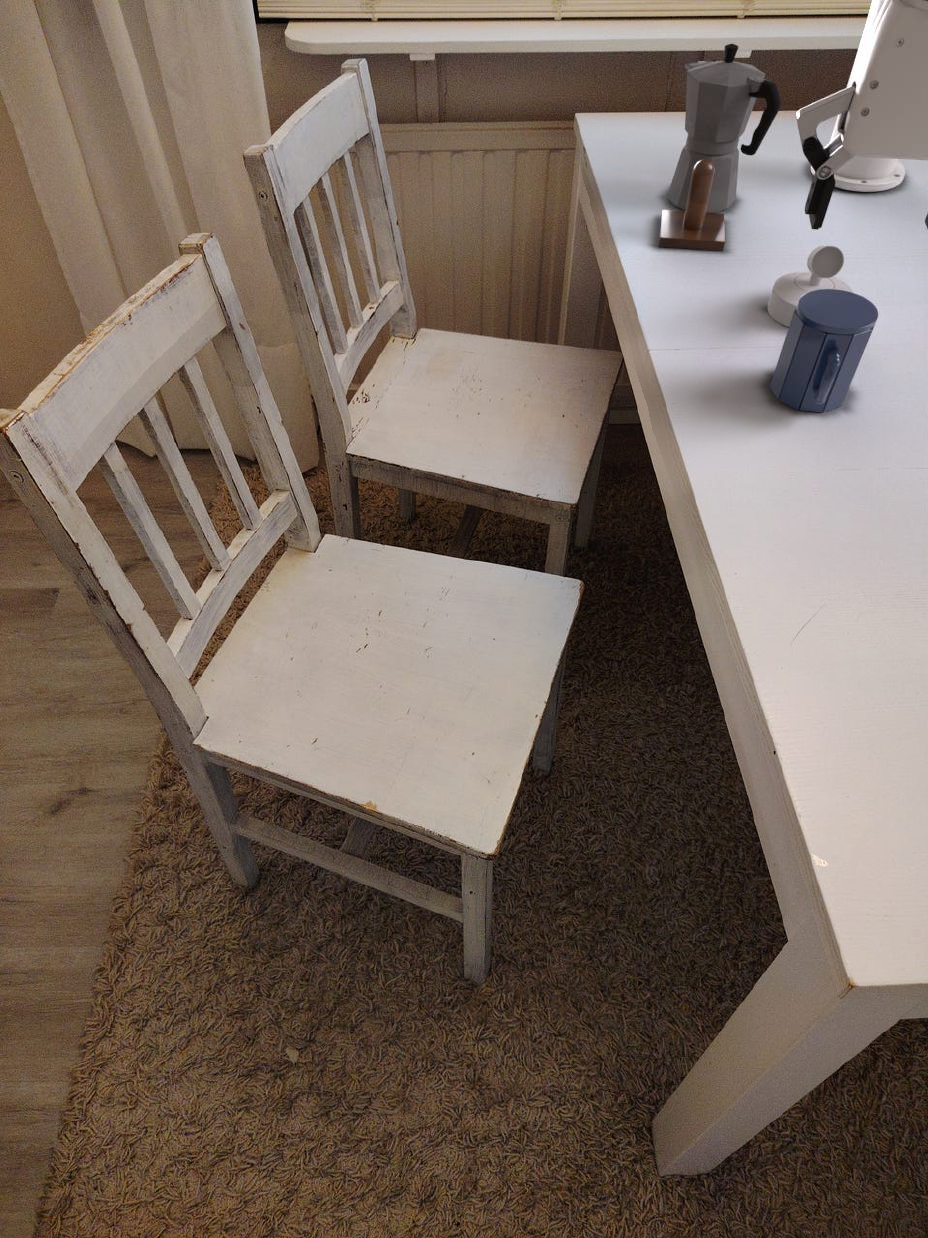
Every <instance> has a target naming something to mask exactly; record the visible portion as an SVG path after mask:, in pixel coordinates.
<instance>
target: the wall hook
mask: <svg viewBox="0 0 928 1238" xmlns="http://www.w3.org/2000/svg"><path fill="white" fill-rule="evenodd" d="M844 264H845V255H844V253H843V251H842V250H841V249H840V248H839V247H837V246H834V245H825V244H824V245H819V246H816V247H815V248H814V249H812V250H811V252H810V253H809V254H808V257H807V260H806V266H807V269H808V271H795V272H789V273H786V274H784V275H781V276H780V277H778V278H777V279H775V282H774V284H773V286H772V290H771V294H770V297H769V300H768V303H767V312H768V314H769V316H770V317H771V318H772V319H773V320H774V321H776V322H777V323H779V324H780V325H782V326H785V327H787V328H789V325H790V322H791V319H792V316H793V313H794V310H795V308H796V307H797V304H798V301H799V299H800V298H801V297H802V296H803V295H804V294H806V293H808V292H811V291H814V290H821V289H836V290H843V291H848V292H852V293H854V291H853V289H852V288H851V287H850V286H849V285H848V283H846V282H845V281H843V280H842V279H840V278H837V277H835V276H836V275H838V274H839V272H841V270H842V269H843V266H844Z"/></svg>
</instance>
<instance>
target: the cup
mask: <svg viewBox="0 0 928 1238" xmlns="http://www.w3.org/2000/svg"><path fill="white" fill-rule="evenodd" d="M878 318H879V310H878V308H877V307H876V305H875V304H874V303H872V301H870V300H869V299H867V298H866V297H864V296H862V295H860V294H858V293H855V292H853V293H852V292H848V291H843V290H836V289H821V290H814V291H811V292H808V293H806V294H804V295H803V296H802V297H801V298H800V299H799V301H798V304H797V307H796V308H795V310H794V313H793V316H792V319H791V322H790V325H789V327H787V328H788V329H787V332H786V335H785V338H784V341H783V344H782V347H781V350H780V353H779V357H778V360H777V362H776V366H775V369H774V372H773V375H772V377H771V381H770V384H769V389H770V390H771V391H772V393H773V395H774V396H775V399H777V401H779V402H781V403H783V404H785V405H787V406H789V407H790V408H793V409H795V410H796V411H798V410H799V411H801V412H812V413H813V412H814V413H826V412H829V411H831V410H835V409H838V408H840V407H841V406H843V404H844V402H845V398H846V396H847V394H848V392H849V389H850V386H851V384H852V381H853V379H854V376H855V375H856V372H857V370H858V367H859V365H860V363H861V360H862V357H863V355H864V352H865V350H866V348H867V346H868V343H869V341H870V338H871V335H872V334H873V331H874V329H875V326H876V324H877V321H878Z"/></svg>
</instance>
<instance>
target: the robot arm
mask: <svg viewBox="0 0 928 1238" xmlns="http://www.w3.org/2000/svg"><path fill="white" fill-rule="evenodd" d="M864 26H865V27H864V30H863V33H862V36H861V39H860V42H859V46H858V49H857V52H856V56H855V59H854V62H853V64H852V69H851V72H850V75H849V78H848V81H847V85H846V88H844V89H841V90H838V91H837V92H835V93H832V94H830V95H827V96H825V97H824V98H821V99H818V100H817V101H815V102H812V103H811V104H808V105H806V106H804V107H801V108H800V109H799V110H798V111H797V112H796V114H795V119H796V124H797V129H798V135H799V138H800V145H801V149H802V152H803V153H802V154H803V155H804V156H805V158H806V160H807V162H808V163H809V164H810V171H811V173H812V175H813V177H812V181H811V185H810V188H809V191H808V195H807V198H806V202H805V205H804V214H805V215H808V218H809V224H810V227H811V230H818V231H819V229H821V228H822V227H823V224H824V221H825V218H826V214H827V212H828V208H829V205H830V202H831V200H832V196H833V193H834V190H835V188H837V189H841V190H845V191H852V192H864V193H873V192H883V191H887V190H888V191H889V190H891V189H894V188H895V187H898V186H899V185H900V184H901V183H902V182H903V180H904V178H905V176H906V168H905V166H904V164H902V162H900V161H899V160H909V161H910V160H912V161H928V0H871V4H870V8H869V11H868V15H867V19H866V23H865V25H864ZM834 117H837V118H836V121H835V124H834V127H833V131H832V134H831V137H830V140H829V143H828V144H826V146H823V144H822V143H821V141H820V139H819V138H818V133H817V128H818V126H819V125H820V124H821V123H823V122H825V121H827V120H829V119H833V118H834ZM924 224H925V226H926V228H927V229H926V230H928V212H927V214H926V216H925V218H924Z"/></svg>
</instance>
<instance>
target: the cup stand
mask: <svg viewBox="0 0 928 1238" xmlns="http://www.w3.org/2000/svg"><path fill="white" fill-rule="evenodd" d="M714 172H715V167H714V164H713V163H712V162H711V161H710V160H708V159H702V160H700V161H698V162H697V163H696V164H695V166H694V168H693V173H692V178H691V183H690V188H689V194H688V199H687V204H686V210H674V209H673V210H670V209H662V210H661V216H660V227H659V238H658V239H659V241H658V247H659V248H670V249H672V248H673V249H685V250H686V249H687V250H702V251H715V252H716V251H718V252H723V251H724V248H725V244H726V230H725V227H726V226H725V213H724V212H723V213H721V212H715V213H707V212H706V210H707V206H708V201H709V196H710V191H711V186H712V182H713V177H714Z"/></svg>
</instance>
